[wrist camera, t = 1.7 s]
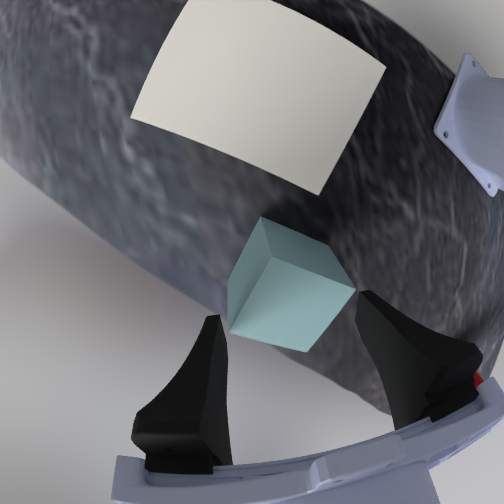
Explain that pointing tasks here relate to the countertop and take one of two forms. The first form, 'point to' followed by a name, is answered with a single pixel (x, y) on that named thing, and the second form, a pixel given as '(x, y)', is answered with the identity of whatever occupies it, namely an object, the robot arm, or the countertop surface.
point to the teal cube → (285, 288)
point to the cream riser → (260, 87)
